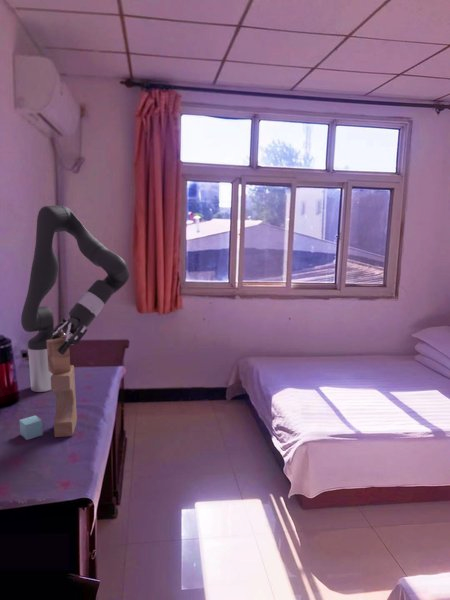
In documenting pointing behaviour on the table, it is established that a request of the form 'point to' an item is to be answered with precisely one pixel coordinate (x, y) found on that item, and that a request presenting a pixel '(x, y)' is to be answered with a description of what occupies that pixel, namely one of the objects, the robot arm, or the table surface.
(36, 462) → the table surface
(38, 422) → the teal cube
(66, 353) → the tan long block
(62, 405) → the decorative block
